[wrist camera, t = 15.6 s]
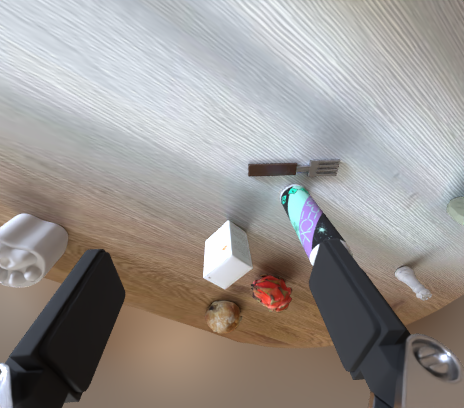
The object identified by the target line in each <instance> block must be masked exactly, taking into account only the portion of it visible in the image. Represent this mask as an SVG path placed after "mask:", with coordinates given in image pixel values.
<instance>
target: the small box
mask: <svg viewBox="0 0 464 408" xmlns="http://www.w3.org/2000/svg"><path fill="white" fill-rule="evenodd" d="M251 269H253V265H252V260H251V255H250V250H249V245H248V239H247V234H246V232H245V231H243V230H242V229H241V228H239V227H238V226H236V225H235V224H234V223H232V222H231V221H229V220H228V221H227V222H226V223H225V224H224V225H223V226H222V227H221V228H220V229H218V230H217V231H216V232H215V233H214V234H213V235H212V236H211V237H210V238H209V239H208V240H206V243H205V259H204V275H203V278H205V279H207V280H208V281H210V282H212V283H214V284H216V285H218V286H219V287H221V288H223V289H226V288H228V287H229V286H230V285H231V284H233V283H234V282H235V281H237V280H238V279H239V278H241V277H242V276H243V275H245V274H246V273H247V272H249V271H250V270H251Z"/></svg>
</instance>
